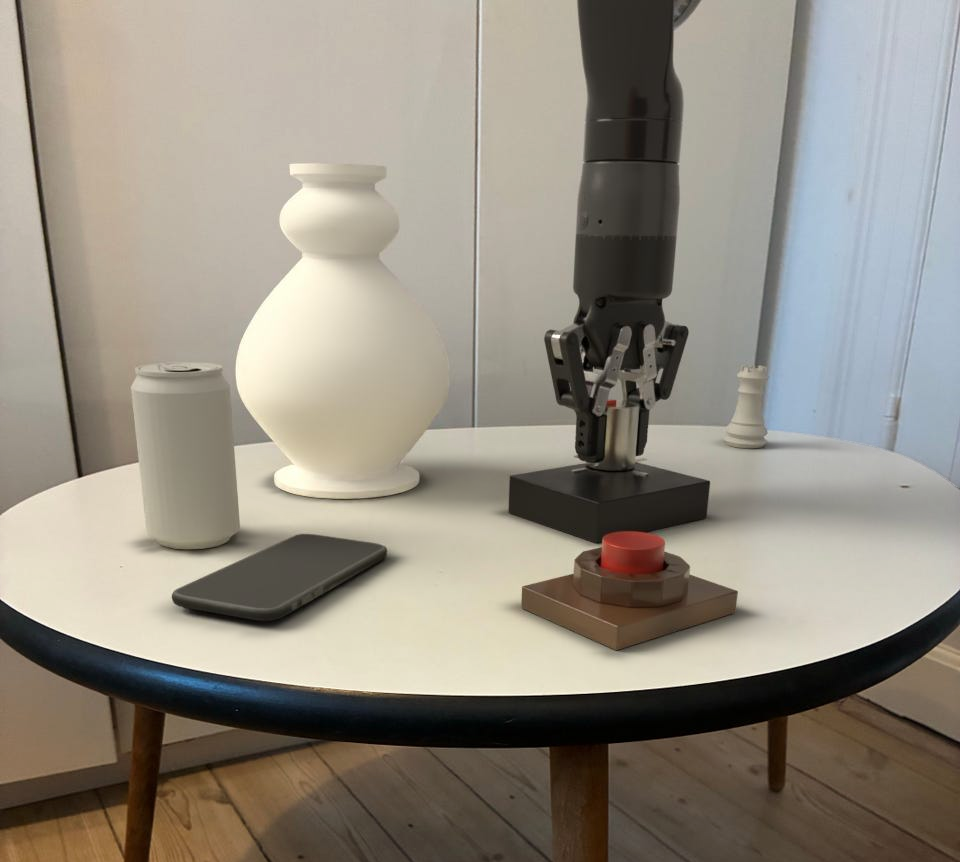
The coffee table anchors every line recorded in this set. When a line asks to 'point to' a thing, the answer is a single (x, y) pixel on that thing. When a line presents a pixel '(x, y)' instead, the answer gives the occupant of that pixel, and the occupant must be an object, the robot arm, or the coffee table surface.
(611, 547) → the button
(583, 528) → the black flat square block
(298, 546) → the smartphone
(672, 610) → the button block
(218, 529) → the beverage can
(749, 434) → the rook chess piece
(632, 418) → the hob knob
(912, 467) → the coffee table surface
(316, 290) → the decorative vase
